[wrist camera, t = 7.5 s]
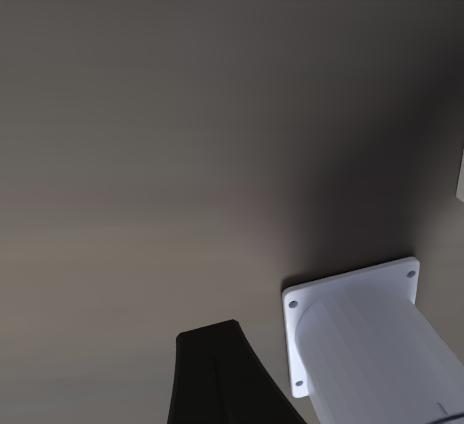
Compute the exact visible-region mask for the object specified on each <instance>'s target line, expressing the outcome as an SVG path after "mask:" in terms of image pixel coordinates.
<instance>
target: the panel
mask: <svg viewBox="0 0 464 424" xmlns="http://www.w3.org/2000/svg"><path fill="white" fill-rule="evenodd" d="M456 197H457V198H459V199H460V200H461V201H463V202H464V151H463V157H462V163H461V169H460V175H459V180H458V186H457V192H456Z"/></svg>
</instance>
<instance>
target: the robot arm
mask: <svg viewBox="0 0 464 424" xmlns="http://www.w3.org/2000/svg"><path fill="white" fill-rule="evenodd" d="M419 268H420V262H419V261H418V260H417V259H416V258H415V257H407V258H403V259H399V260H395V261H391V262H387V263H383V264H379V265H375V266H371V267H367V268H363V269H359V270H355V271H351V272H347V273H344V274H340V275H336V276H332V277H328V278H324V279H320V280H316V281H312V282H308V283H304V284H300V285H296V286H292V287H289V288H287V289H285V290H284V291H283V293H282V301H283V311H284V322H285V332H286V343H287V353H288V364H289V374H290V384H291V392H292V394H293V396H294V397H297V398H299V397H303V396H307V395H309V397H310V399H311V401H312V404H313V406H314V409H315V411H316V414H317V416H318V418H319V421H320V423H321V424H464V366H463V364H462V363H461V362H460V361H459V359H458V358H457V357H456V356H455V355H454V353H453V352H452V351H451V350H450V348H449V347H448V346H447V345H446V343H445V342H444V341H443V340H442V339H441V337H440V336H439V335H438V334H437V332H436V331H435V330H434V329H433V328H432V326H431V325H430V324H429V323H428V321H427V320H426V319H425V318H424V316H423V315H422V314H421V313H420V312H419V310H418V309H417V308H416V307H415V298H416V290H417V283H418V275H419ZM292 301H294V302H292ZM290 302H292V303H290ZM167 424H307V423H306V422H305V421H304V419H303V418H302V417H301V416H300V414H299V413H298V412H297V411H296V409H295V408H294V407H293V406H292V404H291V403H290V402H289V401H288V399H287V398H286V397H285V395H284V394H283V393H282V391H281V390H280V389H279V387H278V386H277V385H276V383H275V382H274V380H273V379H272V378H271V376H270V375H269V373H268V372H267V371H266V369H265V368H264V366H263V365H262V363H261V362H260V360H259V359H258V357H257V355H256V354H255V352H254V351H253V349H252V347H251V346H250V344H249V342H248V341H247V339H246V337H245V335H244V333H243V331H242V329H241V327H240V325H239V322H238V321H236V320H234V319H232V320H228V321H224V322H220V323H217V324H213V325H209V326H205V327H201V328H198V329H194V330H190V331H186V332H182V333H180V334H179V335H178V336H177V337H176V364H175V375H174V383H173V391H172V398H171V404H170V410H169V415H168V421H167Z"/></svg>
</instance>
